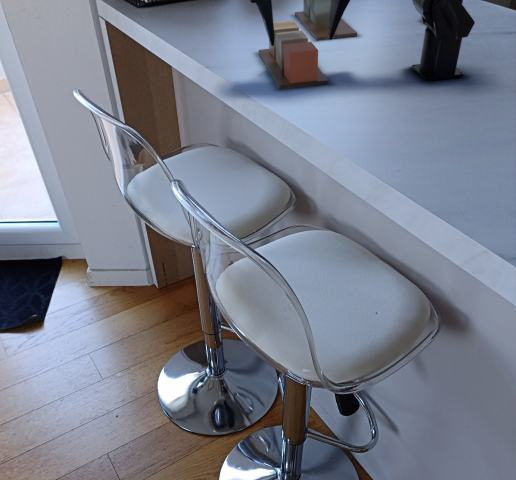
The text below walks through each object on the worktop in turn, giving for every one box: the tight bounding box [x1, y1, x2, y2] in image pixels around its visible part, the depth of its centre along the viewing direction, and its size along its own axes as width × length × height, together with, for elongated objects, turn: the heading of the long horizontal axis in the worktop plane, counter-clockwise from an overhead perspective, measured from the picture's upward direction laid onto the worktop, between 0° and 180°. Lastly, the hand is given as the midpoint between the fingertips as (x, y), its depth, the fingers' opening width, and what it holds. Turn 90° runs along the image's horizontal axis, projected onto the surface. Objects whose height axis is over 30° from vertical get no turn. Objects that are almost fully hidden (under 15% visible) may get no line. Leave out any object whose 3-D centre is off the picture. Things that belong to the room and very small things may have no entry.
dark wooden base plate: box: [294, 0, 358, 41], centre depth 107 cm, size 19×8×5 cm, turn 10°
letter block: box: [284, 41, 319, 84], centre depth 85 cm, size 4×4×4 cm
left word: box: [258, 19, 329, 90], centre depth 90 cm, size 19×8×5 cm, turn 10°
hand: (301, 42), depth 83 cm, fingers open, 9 cm apart
